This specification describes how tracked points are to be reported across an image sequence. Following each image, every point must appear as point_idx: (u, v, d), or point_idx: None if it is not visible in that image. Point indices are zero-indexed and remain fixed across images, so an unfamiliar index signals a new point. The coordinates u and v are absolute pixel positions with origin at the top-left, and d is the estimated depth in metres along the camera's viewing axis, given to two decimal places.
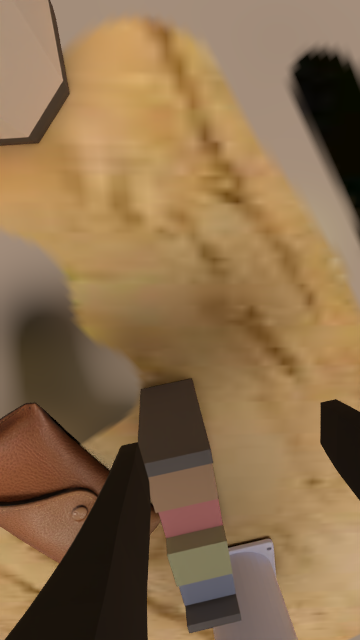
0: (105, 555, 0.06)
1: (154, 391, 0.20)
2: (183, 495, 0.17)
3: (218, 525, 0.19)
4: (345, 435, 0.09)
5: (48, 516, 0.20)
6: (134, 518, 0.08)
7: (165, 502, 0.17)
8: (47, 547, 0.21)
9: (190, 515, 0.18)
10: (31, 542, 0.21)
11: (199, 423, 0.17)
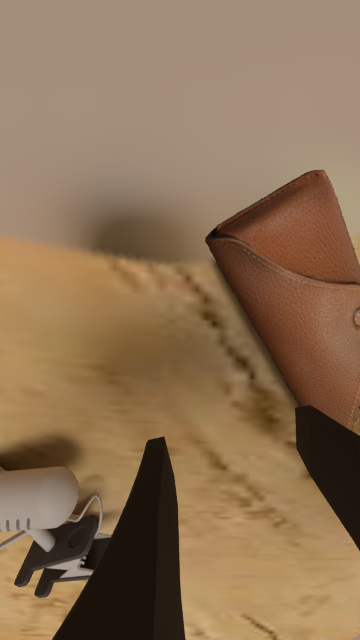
0: (149, 545, 0.06)
1: None
2: None
3: None
4: (316, 441, 0.09)
5: (335, 309, 0.16)
6: (167, 510, 0.08)
7: None
8: (321, 354, 0.17)
9: None
10: (306, 345, 0.16)
11: None
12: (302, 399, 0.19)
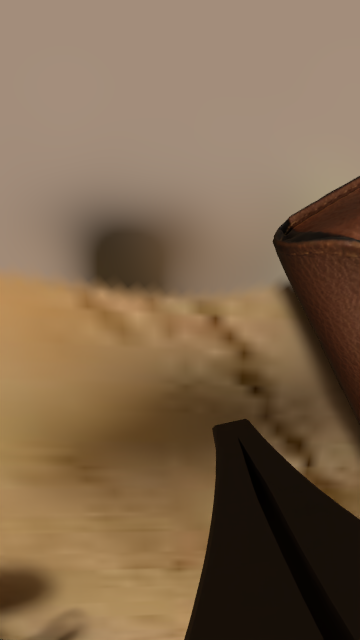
0: (258, 520, 0.06)
1: None
2: None
3: None
4: (243, 458, 0.09)
5: None
6: None
7: None
8: None
9: None
10: None
11: None
12: None
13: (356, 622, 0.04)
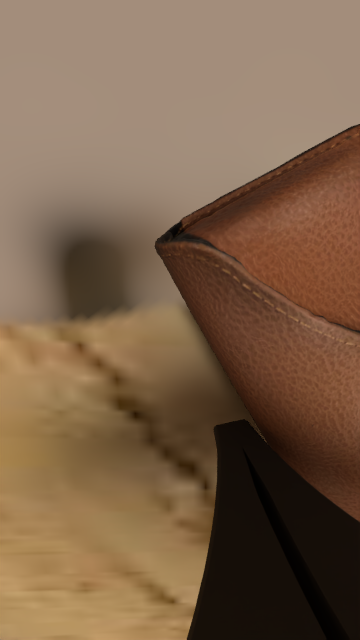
0: (260, 519, 0.06)
1: None
2: None
3: None
4: None
5: None
6: None
7: None
8: None
9: None
10: (340, 455, 0.09)
11: None
12: None
13: (351, 623, 0.04)
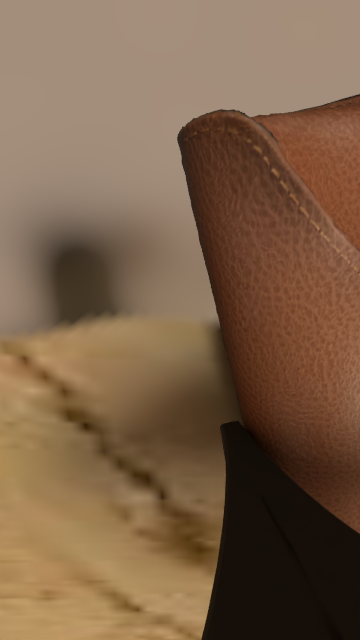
0: (271, 517, 0.06)
1: None
2: None
3: None
4: None
5: None
6: None
7: None
8: (339, 435, 0.08)
9: None
10: (317, 410, 0.08)
11: None
12: None
13: (333, 627, 0.04)
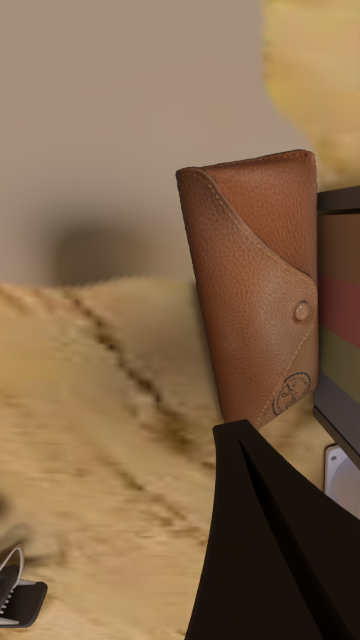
0: (258, 520, 0.06)
1: None
2: None
3: None
4: (243, 458, 0.09)
5: (281, 291, 0.15)
6: None
7: None
8: (253, 334, 0.16)
9: None
10: (241, 318, 0.15)
11: None
12: (221, 382, 0.18)
13: (355, 623, 0.04)
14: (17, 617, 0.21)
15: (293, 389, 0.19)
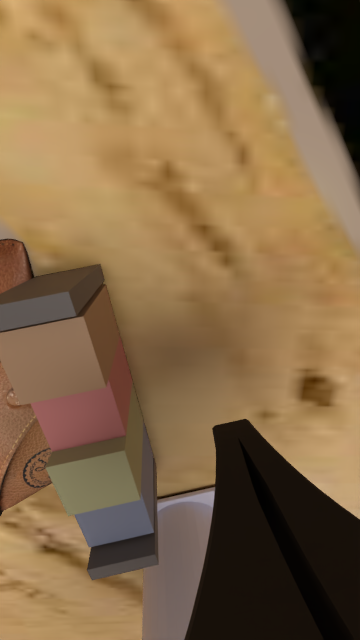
0: (258, 520, 0.06)
1: (48, 275, 0.16)
2: (55, 379, 0.12)
3: (120, 436, 0.15)
4: (243, 458, 0.09)
5: None
6: None
7: (31, 389, 0.12)
8: None
9: (78, 419, 0.14)
10: None
11: (75, 281, 0.12)
12: None
13: (355, 622, 0.04)
14: None
15: None
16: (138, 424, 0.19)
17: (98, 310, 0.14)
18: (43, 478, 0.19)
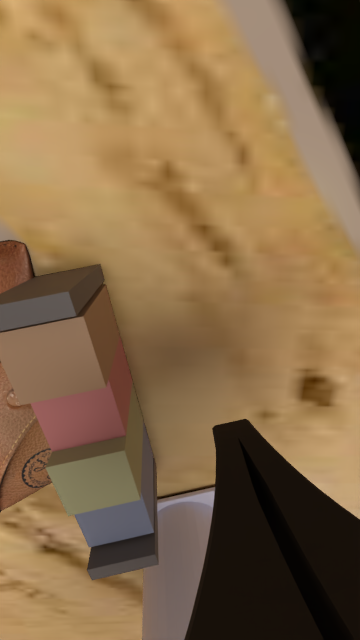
0: (258, 520, 0.06)
1: (48, 275, 0.16)
2: (55, 379, 0.12)
3: (120, 436, 0.15)
4: (243, 458, 0.09)
5: None
6: None
7: (31, 389, 0.12)
8: None
9: (78, 419, 0.14)
10: None
11: (75, 281, 0.12)
12: None
13: (355, 622, 0.04)
14: None
15: None
16: (138, 424, 0.19)
17: (98, 310, 0.14)
18: (42, 478, 0.19)
